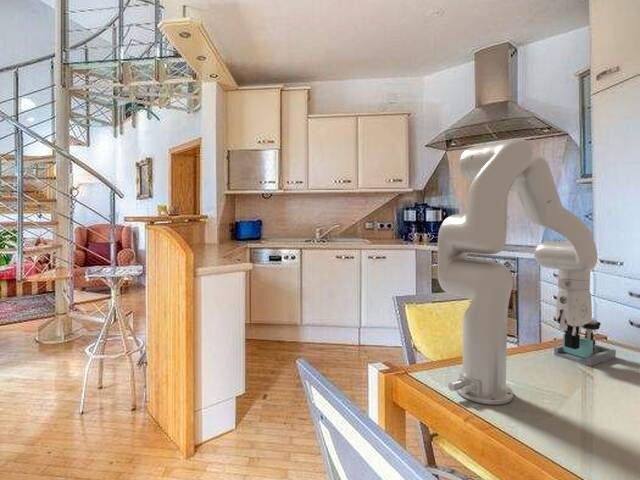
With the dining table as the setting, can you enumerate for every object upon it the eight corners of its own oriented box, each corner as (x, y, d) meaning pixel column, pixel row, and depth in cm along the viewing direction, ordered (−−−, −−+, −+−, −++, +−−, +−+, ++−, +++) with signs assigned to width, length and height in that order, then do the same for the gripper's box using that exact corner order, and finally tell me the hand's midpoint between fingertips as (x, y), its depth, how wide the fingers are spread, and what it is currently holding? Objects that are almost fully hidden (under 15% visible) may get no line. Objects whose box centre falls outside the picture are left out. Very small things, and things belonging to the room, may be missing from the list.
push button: (598, 357, 109) (599, 323, 109) (576, 353, 113) (577, 320, 112) (600, 351, 114) (601, 318, 114) (578, 347, 118) (579, 315, 117)
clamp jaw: (589, 359, 107) (590, 341, 107) (562, 351, 114) (563, 334, 114) (592, 358, 108) (593, 340, 108) (565, 350, 115) (566, 333, 114)
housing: (590, 366, 105) (590, 358, 105) (554, 354, 114) (554, 347, 114) (615, 357, 111) (615, 349, 111) (579, 347, 120) (579, 340, 120)
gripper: (572, 289, 101) (570, 356, 103) (602, 283, 108) (600, 347, 110) (544, 285, 108) (543, 348, 109) (575, 280, 115) (573, 339, 116)
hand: (571, 347), depth 109 cm, fingers closed
